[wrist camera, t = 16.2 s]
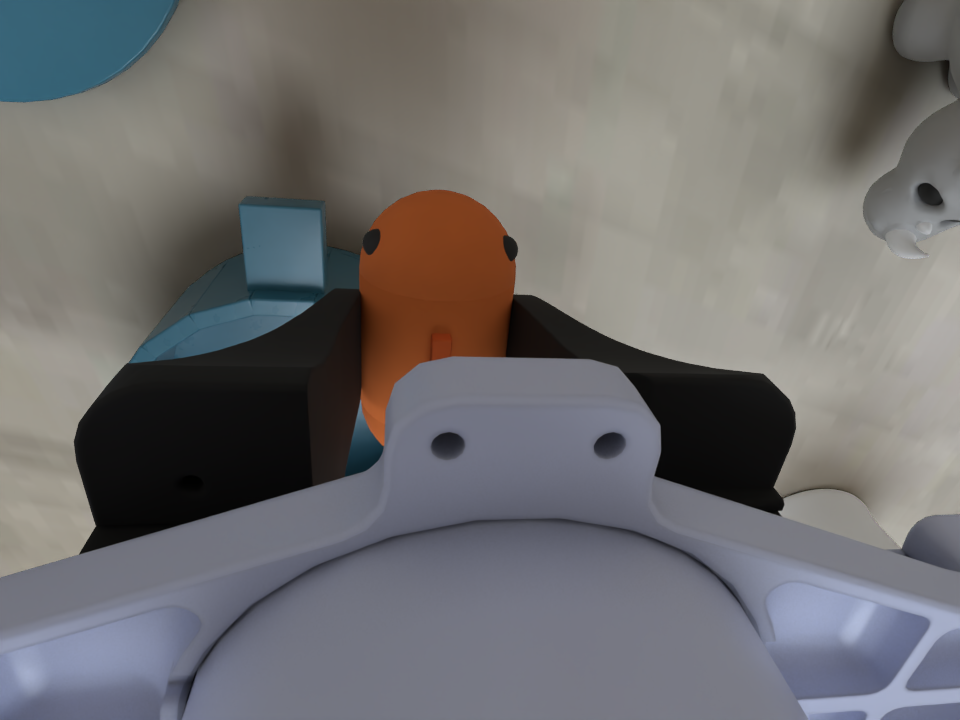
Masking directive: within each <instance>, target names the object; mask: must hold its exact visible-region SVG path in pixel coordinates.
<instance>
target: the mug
mask: <svg viewBox="0 0 960 720" xmlns="http://www.w3.org/2000/svg"><path fill="white" fill-rule="evenodd" d="M783 500H784V507H783V510H782V511H778V512H779V513H780V514H781V516H782V517H784V518H787V519H790V520H793V521H797V522H800V523H803V524H806V525H809V526H812V527H815V528H819V529H822V530H825V531H828V532H831V533H834V534H837V535H841V536H844V537H847V538H850V539H853V540H856V541H859V542H862V543H866V544H869V545H872V546H875V547H878V548H881V549H884V550H887V549H901V548H900V547H899V546H898V545H897V543H896V542H895V541H894V540H893V539H892V538H891V537H890V536H889V535H888V534H887V533H886V532H885V531H884V530H883V529H882V528H881V526H880V525H879V524H878V523H877V522H876V521H875V519H874V518H873V516H872V515H871V513H870V511H869V509H868V508H867V506H866V505H865V504H864V503H863V502H862V501H861V500H860V499H859V498H857V497H856V496H854V495H852V494H850V493H848V492H844V491H841V490H835V489H816V490H809V491H804V492H800V493H797V494H794V495H791V496H788V497H786V498H783Z"/></svg>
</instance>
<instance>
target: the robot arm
mask: <svg viewBox="0 0 960 720" xmlns="http://www.w3.org/2000/svg"><path fill="white" fill-rule="evenodd" d="M360 400H361V292H360V291H359V289H344V288H335V289H333V290H332V291H330V292H329V293H328V294H326V295H325V296H324V297H323V298H321V299H320V300H319V301H317V302H316V303H315V304H313V305H312V306H311V307H309V308H308V309H307V310H305V311H304V312H302V313H301V314H299V315H298V316H296V317H294V318H293V319H291V320H290V321H288V322H286V323H285V324H283V325H282V326H280V327H278V328H276V329H274V330H272V331H270V332H268V333H266V334H263V335H261V336H259V337H257V338H254V339H252V340H249V341H246V342H243V343H240V344H237V345H234V346H231V347H227V348H224V349H221V350H217V351H213V352H209V353H205V354H200V355H195V356H189V357H184V358H177V359H170V360H159V361H149V362H139V363H127V364H126V365H125V366H124V367H123V368H122V369H121V370H120V371H119V372H118V373H117V375H116V376H115V377H114V378H113V379H112V380H111V381H110V383H109V384H108V385H107V386H106V388H105V389H104V390H103V392H102V393H101V394H100V395H99V397H98V398H97V399H96V400H95V402H94V403H93V404H92V405H91V407H90V408H89V409H88V411H87V412H86V414H85V415H84V416H83V418H82V419H81V420H80V422H79V424H78V428H77V432H76V436H75V439H74V446H75V454H76V462H77V465H78V468H79V472H80V475H81V478H82V482H83V485H84V488H85V492H86V495H87V498H88V502H89V505H90V508H91V512H92V515H93V518H94V522H95V525H97V526H96V527H95V529H94V531H93V532H92V534H91V535H90V537H89V539H88V540H87V542H86V544H85V545H84V547H83V549H82V550H81V552H80V554H79V555H76V556H73V557H69V558H66V559H62V560H59V561H56V562H52V563H49V564H45V565H42V566H38V567H35V568H32V569H28V570H25V571H21V572H18V573H14V574H11V575H8V576H4V577H1V578H0V720H960V514H956V515H933V516H928V517H925V518H923V519H922V520H920V521H918V522H917V523H916V524H915V525H914V526H913V527H912V528H911V530H910V531H909V533H908V535H907V537H906V539H905V541H904V544H903V547H902V549H887V550H884V549H881V548H878V547H875V546H872V545H869V544H866V543H862V542H859V541H856V540H853V539H850V538H847V537H844V536H841V535H837V534H834V533H831V532H828V531H825V530H822V529H819V528H815V527H812V526H809V525H806V524H803V523H800V522H797V521H793V520H790V519H787V518H784V517H782V516H781V514H780V513H779V512H778V511H782V510H783V507H784V500H783V498H782V497H781V496H780V495H779V494H778V492H777V491H776V490H775V489H774V485H775V482H776V480H777V478H778V475H779V473H780V471H781V468H782V466H783V463H784V461H785V459H786V456H787V454H788V452H789V449H790V447H791V444H792V441H793V437H794V433H795V430H796V421H795V412H794V409H793V407H792V404H791V402H790V400H789V399H788V398H787V397H786V396H785V395H784V394H783V393H782V392H781V391H780V390H779V389H778V388H777V387H776V386H775V385H774V384H773V383H772V382H771V381H770V380H769V379H768V378H767V377H766V376H765V375H764V374H760V373H751V372H742V371H733V370H723V369H716V368H710V367H705V366H699V365H694V364H689V363H684V362H680V361H676V360H672V359H668V358H665V357H661V356H658V355H654V354H651V353H647V352H644V351H641V350H639V349H636V348H633V347H631V346H628V345H626V344H623V343H621V342H618V341H616V340H613V339H611V338H609V337H607V336H605V335H603V334H601V333H599V332H597V331H595V330H593V329H591V328H589V327H587V326H585V325H584V324H582V323H580V322H578V321H577V320H575V319H573V318H572V317H570V316H568V315H567V314H565V313H563V312H562V311H560V310H558V309H557V308H555V307H553V306H552V305H550V304H549V303H547V302H545V301H543V300H542V299H540V298H538V297H535V296H532V295H513V301H512V309H511V317H510V325H509V333H508V341H507V349H506V357H457V356H452V357H447V358H443V359H438V360H433V361H428V362H424V363H419V364H418V365H417V366H416V367H414V368H413V369H412V370H411V371H409V372H408V373H407V374H406V375H405V376H403V377H402V378H401V379H400V380H398V381H397V382H396V383H395V384H394V387H393V390H392V393H391V396H390V399H389V402H388V405H387V407H386V410H385V442H384V448H383V453H382V455H381V457H380V459H379V460H378V462H376V463H375V464H374V465H373V466H372V467H371V468H370V469H368V470H367V471H364V472H361V473H357V474H354V475H350V476H347V477H345V471H346V465H347V460H348V456H349V451H350V447H351V442H352V437H353V433H354V428H355V423H356V419H357V414H358V409H359V404H360Z"/></svg>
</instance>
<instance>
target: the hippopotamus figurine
mask: <svg viewBox="0 0 960 720" xmlns="http://www.w3.org/2000/svg"><path fill="white" fill-rule="evenodd" d="M893 43H894V46H895V48H896V50H897V52H898V53H899V54H900V55H901V56H903V57H905V58H907V59H910V60H914V61H920V62H933V61H940V60H949V62H950V66H949V71H948V84H949V88H950V90H951V92H952V94H953V95H954V96H955V97H956V98H958V100H957V101H955V102H953V103H951V104H949V105H947V106H945V107H943V108H941V109H940V110H938V111H936V112H935V113H933V114H932V115H931V116H929V117H928V118H927V119H926V120H924V121H923V122H922V123H921V124H920V125H919V126H918V127H917V128H916V129H915V130H914V132H913V133H912V134H911V136H910V137H909V139H908V140H907V142H906V144H905V146H904V149H903V152H902V155H901V158H900V161H899V163H898V165H897V167H896V168H894V169H893V170H891V171H889V172H888V173H886V174H885V175H883V176H882V177H881V178H879V179H878V180H877V181H876V182H875V183H874V184H873V185H872V186H871V187H870V189H869V191H868V192H867V194H866V196H865V199H864V203H863V216H864V219H865V222H866V224H867V225H868V227H869V229H870V230H871V232H872V233H873V234H874V235H876V236H877V237H879V238H880V239H883V240H885V241H886V242H887V245H888V247H889V248H890V250H891V251H892V252H893V253H894V254H896V255H897V256H900V257H903V258H908V259H918V258H925V257H928V256H929V255H928V254H927V253H924V252H923V251H921V250H920V249H919V248H918V247H917V246H916V242H918V241H921V240H925V239H927V238H929V237H932V236H934V235H936V234H938V233H940V232H942V231H945V230H947V229H950V228H952V227H955V226H958V225H960V0H904V2H903V3H902V4H901V6H900V8H899V10H898V12H897V14H896V17H895V21H894V26H893Z"/></svg>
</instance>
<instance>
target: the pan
mask: <svg viewBox="0 0 960 720" xmlns="http://www.w3.org/2000/svg"><path fill="white" fill-rule="evenodd" d="M238 206H239V216H240V226H241V235H242V245H243V253H242V254H240V255H237V256H235V257H233V258H230V259H228V260H226V261H224V262H222V263H221V264H219V265H217V266H216V267H214V268H212V269H211V270H209V271H208V272H207V273H206V274H204V275H203V276H202V277H201V278H200V279H198V280H197V281H196V282H195V283H193V284H192V285H190V286H189V287H188V288H187V289H186V291H185V292H184V293H183V294H182V296H181V297H180V298H179V299H178V300H177V302H176V303H175V304H174V305H173V307H172V308H171V309H170V310H169V311H168V313H167V314H166V315H165V316H164V318H163V319H162V320H161V321H160V322H159V324H158V325H157V326H156V327H155V329H154V330H153V331H152V332H151V333H150V335H149V336H148V337H147V338H146V340H145V341H144V342H143V343H142V344H141V346H140V347H139V348H138V350H137V351H136V353H135V354H134V356H133V357H132V359H131V360H130V361H129V363H139V362H149V361H159V360H170V359H177V358H184V357H189V356H195V355H200V354H205V353H209V352H213V351H217V350H221V349H224V348H227V347H231V346H234V345H237V344H240V343H243V342H246V341H249V340H252V339H254V338H257V337H259V336H261V335H263V334H266V333H268V332H270V331H272V330H274V329H276V328H278V327H280V326H282V325H283V324H285V323H286V322H288V321H290V320H291V319H293V318H294V317H296V316H298V315H299V314H301V313H302V312H304V311H305V310H307V309H308V308H309V307H311V306H312V305H313V304H315V303H316V302H317V301H319V300H320V299H321V298H323V297H324V296H325V295H326V294H328V293H329V292H330V291H332V290H333V289H335V288H344V289H359V264H360V255H357V254H354V253H352V252H349V251H345V250H341V249H337V248H332V247H328V246H327V241H326V211H325V202H324V201H318V200H302V199H285V198H269V197H253V196H246V197H245V198H244V199H243V200H242V201H241V202H240V203H239V205H238ZM383 448H384V446H383V445H381V444H380V442H379V441H378V440H377V439H376V438H375V436H374V435H373V433H372V432H371V431H370V429H369V427H368V425H367V422H366V420H365V417H364V415H363V412H362V404H361V400H360V404H359V409H358V414H357V419H356V423H355V428H354V433H353V437H352V442H351V447H350V451H349V456H348V460H347V465H346V471H345V477H347V476H350V475H354V474H357V473H361V472H364V471H367V470H368V469H370V468H371V467H372V466H373V465H374V464H375V463H376V462H378V460H379V459H380V457H381V455H382V453H383Z"/></svg>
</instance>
